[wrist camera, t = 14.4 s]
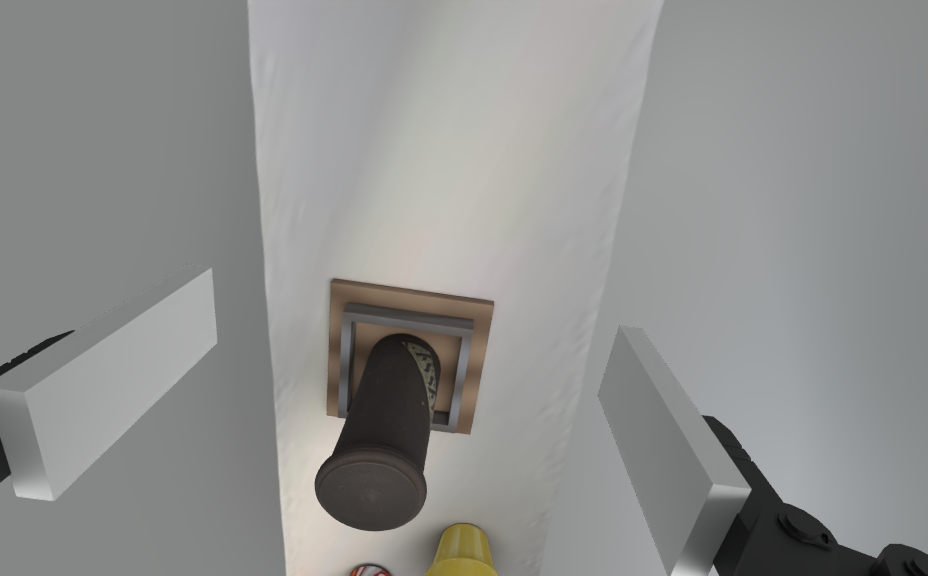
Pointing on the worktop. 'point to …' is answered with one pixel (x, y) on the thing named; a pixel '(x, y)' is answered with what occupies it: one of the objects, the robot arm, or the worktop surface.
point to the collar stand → (418, 314)
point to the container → (384, 439)
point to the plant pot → (462, 553)
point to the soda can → (369, 571)
